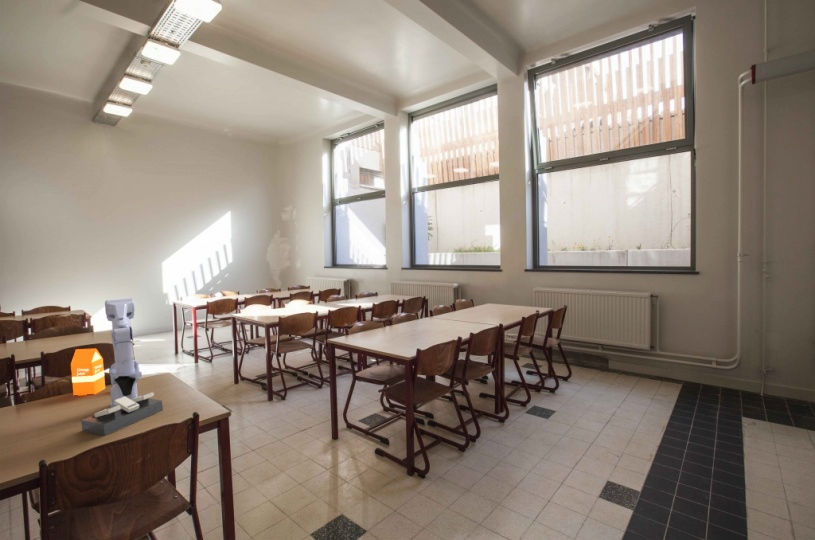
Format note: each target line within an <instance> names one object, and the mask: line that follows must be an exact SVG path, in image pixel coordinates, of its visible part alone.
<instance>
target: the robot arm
mask: <svg viewBox="0 0 815 540" xmlns="http://www.w3.org/2000/svg"><path fill="white" fill-rule="evenodd" d="M104 309H105V316H106V319H107V321H108V322H111V323H112V324H111V327H112V330H111V332H110V336H111V342H112V348H113V353H114V363H113V364H112V365H110V370H109V376H110V382H111V384H110V385H112V386H111V388H110V403H111V404H109V407H113V406H116V405H115V404H114V400H116V399H119V398H122V397H124V396H125V397H127V398H129V399H130V400H131V399H133V398H136V397H139V395H138V386H137V384H138V381H140V380H141V378H143V377H142V376H143V373H142V371H141V370H140V365H139V362H138V361H137V360H134V357H135V356H134V348H133V347H134V346H133V345H134V344H133V342H134V331H133V330H134V329H133V327H132V325H131V319H134V317H135V300H134V298H132V297H129V298H121V299H110V300H109V299H107V300H105V302H104ZM133 356H134V357H133Z"/></svg>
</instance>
